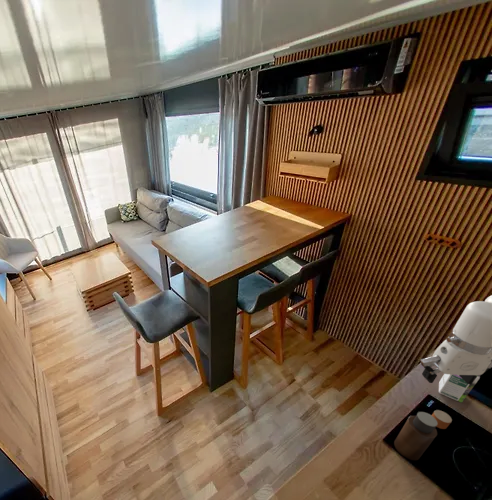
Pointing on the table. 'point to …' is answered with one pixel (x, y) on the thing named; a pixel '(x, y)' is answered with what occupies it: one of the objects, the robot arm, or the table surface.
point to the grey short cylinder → (425, 422)
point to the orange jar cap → (442, 419)
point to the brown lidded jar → (413, 440)
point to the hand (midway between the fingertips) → (445, 379)
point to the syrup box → (455, 387)
